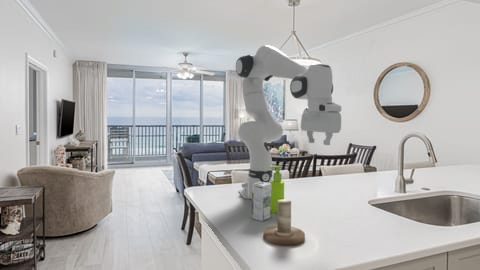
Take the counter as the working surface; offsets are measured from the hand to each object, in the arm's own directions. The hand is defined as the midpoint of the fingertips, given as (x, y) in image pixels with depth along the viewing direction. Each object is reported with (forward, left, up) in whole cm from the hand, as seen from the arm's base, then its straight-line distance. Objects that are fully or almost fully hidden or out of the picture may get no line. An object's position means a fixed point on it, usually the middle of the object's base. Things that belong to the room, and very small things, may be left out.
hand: (318, 143), depth 114 cm
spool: (+6, -18, -30) cm, 35 cm away
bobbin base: (+6, -18, -31) cm, 36 cm away
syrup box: (-14, -17, -31) cm, 38 cm away
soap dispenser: (-20, -7, -31) cm, 38 cm away
